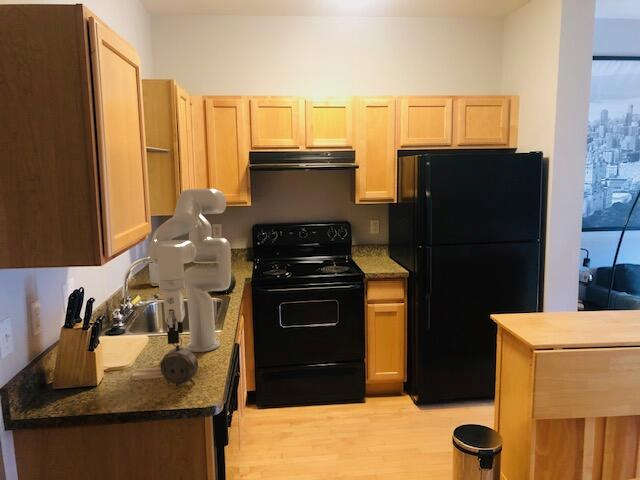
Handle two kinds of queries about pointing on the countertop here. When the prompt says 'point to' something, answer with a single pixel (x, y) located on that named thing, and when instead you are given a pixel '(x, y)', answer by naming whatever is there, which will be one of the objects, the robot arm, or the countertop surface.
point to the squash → (232, 284)
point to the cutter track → (147, 373)
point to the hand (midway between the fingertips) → (175, 338)
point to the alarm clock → (179, 365)
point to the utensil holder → (153, 272)
